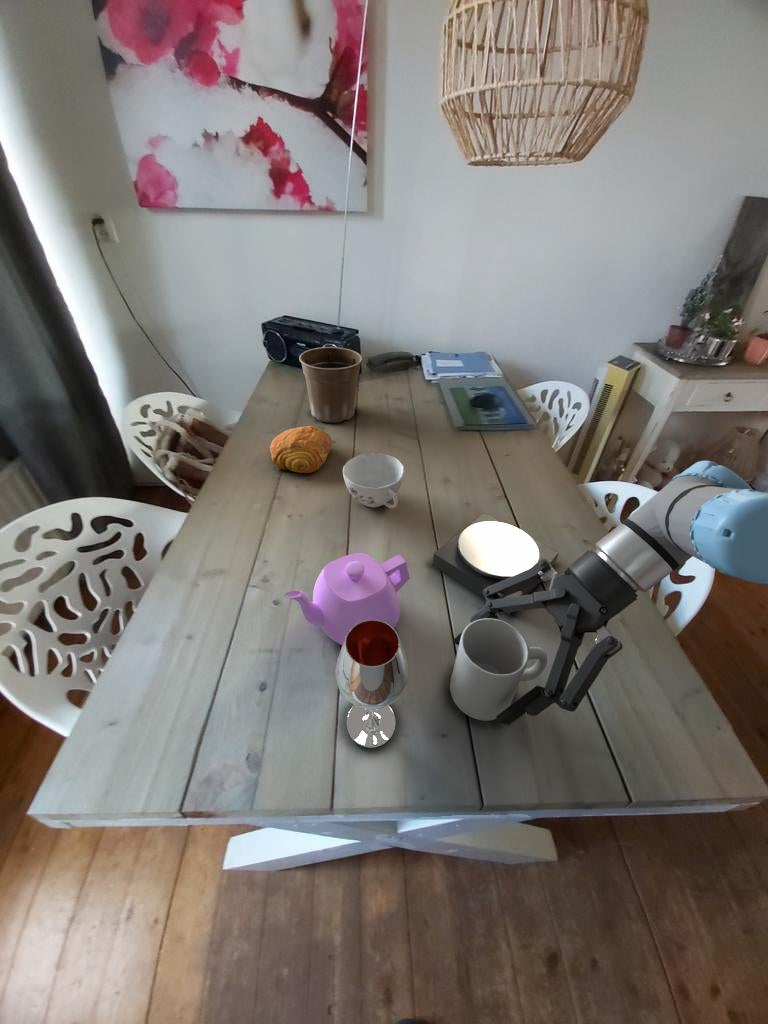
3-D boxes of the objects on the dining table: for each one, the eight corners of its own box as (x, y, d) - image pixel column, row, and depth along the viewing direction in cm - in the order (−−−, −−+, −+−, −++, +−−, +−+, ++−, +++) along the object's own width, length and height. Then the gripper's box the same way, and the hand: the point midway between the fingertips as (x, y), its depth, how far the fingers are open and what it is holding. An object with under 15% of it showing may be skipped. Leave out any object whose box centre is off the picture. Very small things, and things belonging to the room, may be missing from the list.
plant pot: (361, 400, 132) (361, 346, 121) (363, 427, 119) (362, 368, 109) (306, 401, 130) (301, 346, 120) (302, 427, 118) (296, 368, 108)
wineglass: (414, 735, 56) (426, 655, 45) (357, 769, 53) (355, 692, 42) (382, 683, 62) (386, 600, 50) (329, 711, 58) (320, 629, 47)
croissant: (337, 452, 113) (338, 422, 109) (322, 479, 99) (322, 446, 95) (282, 445, 114) (281, 415, 110) (260, 471, 101) (257, 438, 96)
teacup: (333, 492, 96) (332, 461, 91) (383, 476, 101) (384, 446, 96) (367, 532, 86) (367, 500, 81) (420, 513, 91) (423, 481, 86)
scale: (554, 564, 81) (560, 550, 78) (509, 615, 71) (514, 601, 69) (481, 524, 89) (484, 510, 87) (432, 565, 80) (434, 550, 77)
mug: (457, 724, 57) (469, 679, 51) (443, 665, 64) (453, 619, 57) (545, 716, 59) (569, 671, 52) (523, 659, 65) (542, 613, 58)
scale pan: (552, 550, 78) (553, 546, 78) (511, 593, 70) (513, 590, 70) (485, 514, 85) (486, 511, 85) (442, 550, 77) (442, 547, 77)
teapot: (278, 610, 71) (268, 562, 64) (386, 568, 79) (388, 521, 72) (309, 678, 62) (302, 630, 55) (427, 622, 70) (434, 575, 63)
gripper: (706, 659, 46) (544, 771, 52) (565, 522, 63) (454, 618, 69) (692, 644, 41) (515, 769, 47) (544, 500, 58) (426, 605, 64)
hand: (479, 679), depth 58 cm, fingers open, 11 cm apart
